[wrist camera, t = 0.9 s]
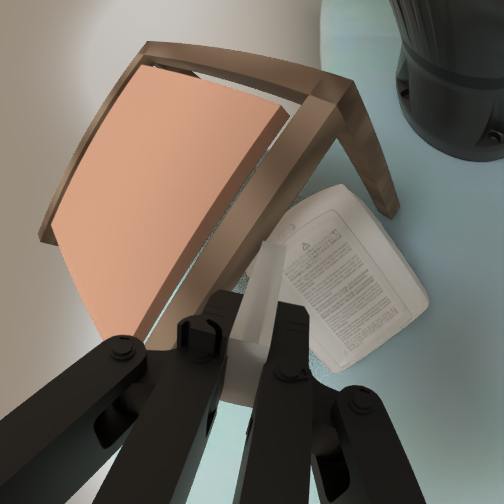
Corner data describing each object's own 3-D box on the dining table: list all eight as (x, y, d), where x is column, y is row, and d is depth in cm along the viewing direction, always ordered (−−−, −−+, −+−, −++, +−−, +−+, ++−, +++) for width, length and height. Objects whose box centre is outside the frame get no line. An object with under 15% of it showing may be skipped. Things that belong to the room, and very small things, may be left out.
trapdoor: (149, 70, 23) (141, 64, 22) (290, 116, 14) (280, 105, 13) (59, 227, 25) (51, 224, 24) (130, 364, 17) (117, 365, 16)
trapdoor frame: (249, 125, 37) (147, 41, 23) (400, 206, 26) (353, 80, 12) (159, 262, 41) (37, 233, 26) (268, 383, 30) (122, 423, 15)
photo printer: (420, 285, 24) (333, 169, 23) (439, 304, 20) (342, 167, 19) (328, 356, 27) (234, 253, 26) (332, 384, 23) (223, 268, 22)
